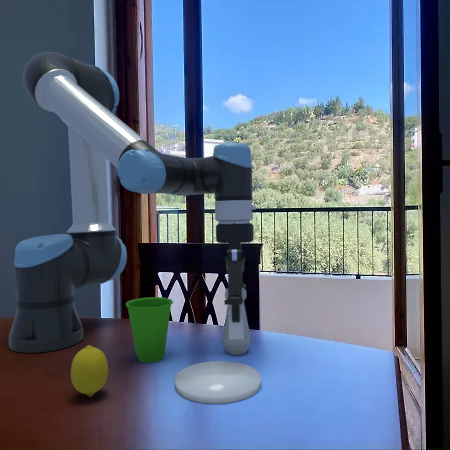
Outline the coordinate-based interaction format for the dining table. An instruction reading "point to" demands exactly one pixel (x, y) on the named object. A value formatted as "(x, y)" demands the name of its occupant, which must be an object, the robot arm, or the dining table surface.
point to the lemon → (89, 370)
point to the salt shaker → (236, 344)
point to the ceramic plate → (217, 382)
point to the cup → (149, 326)
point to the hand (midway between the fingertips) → (237, 328)
